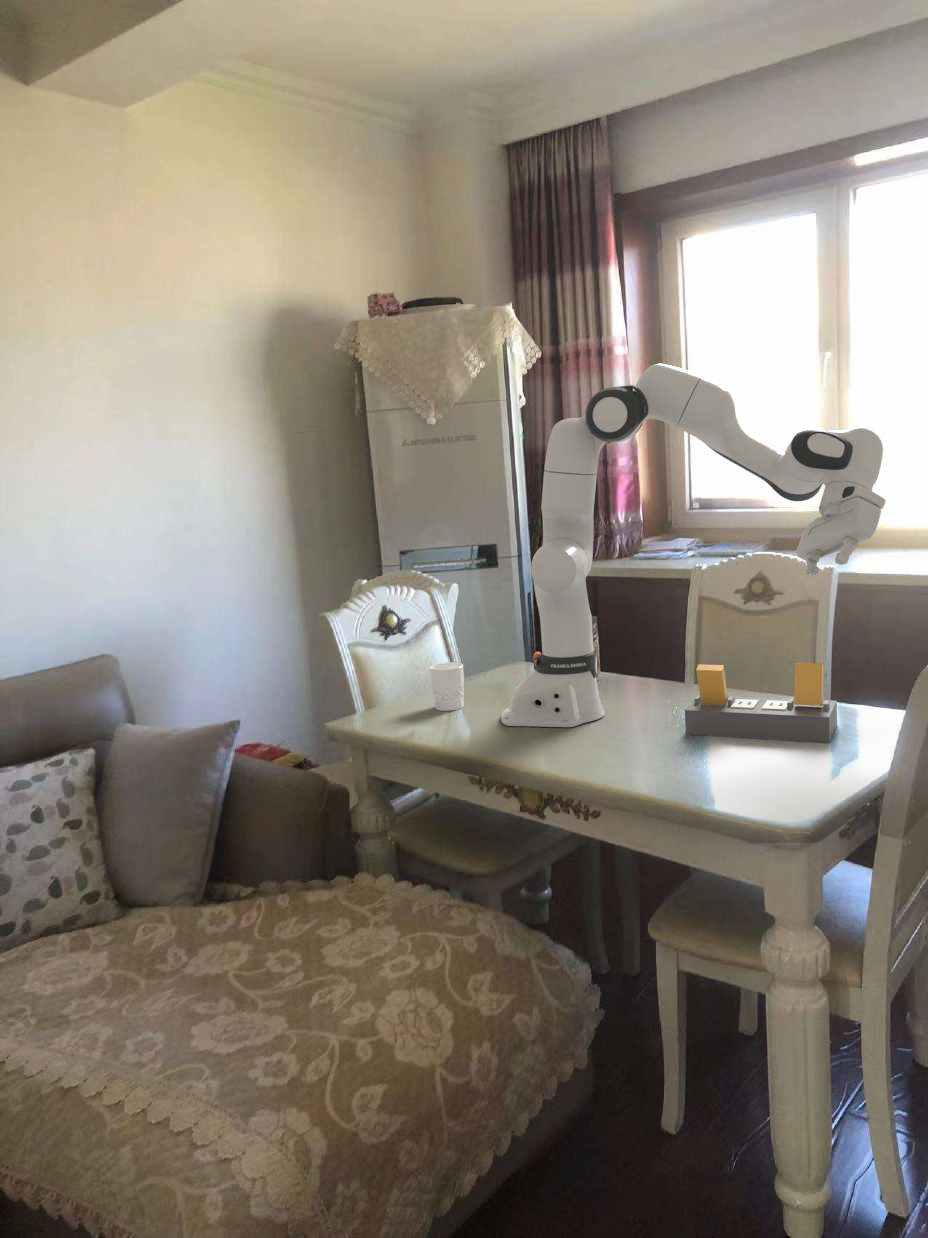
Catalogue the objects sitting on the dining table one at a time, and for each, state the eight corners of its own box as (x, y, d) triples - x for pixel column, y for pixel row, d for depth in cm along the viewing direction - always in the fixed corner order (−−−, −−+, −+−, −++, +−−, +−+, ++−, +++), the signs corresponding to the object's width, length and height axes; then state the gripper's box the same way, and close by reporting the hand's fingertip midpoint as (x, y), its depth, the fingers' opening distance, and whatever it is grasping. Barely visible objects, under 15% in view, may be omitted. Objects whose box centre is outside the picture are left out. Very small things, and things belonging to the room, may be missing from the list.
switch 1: (700, 703, 200) (696, 669, 197) (703, 697, 202) (698, 664, 198) (726, 704, 198) (721, 670, 194) (727, 698, 199) (723, 665, 196)
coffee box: (594, 687, 241) (590, 622, 238) (568, 687, 243) (564, 622, 240) (601, 678, 249) (598, 615, 247) (576, 678, 251) (572, 615, 249)
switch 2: (793, 704, 192) (795, 662, 193) (795, 704, 194) (796, 664, 195) (821, 705, 190) (822, 663, 191) (822, 706, 191) (823, 664, 193)
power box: (685, 734, 197) (684, 704, 196) (700, 718, 208) (699, 689, 207) (829, 743, 185) (829, 710, 184) (837, 725, 196) (836, 694, 195)
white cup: (430, 712, 229) (426, 670, 228) (435, 703, 237) (432, 663, 235) (464, 711, 228) (460, 668, 227) (468, 702, 236) (465, 661, 234)
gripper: (799, 514, 201) (780, 574, 198) (863, 482, 182) (844, 548, 178) (825, 527, 202) (807, 587, 199) (892, 497, 183) (873, 563, 179)
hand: (825, 569), depth 188 cm, fingers open, 8 cm apart
